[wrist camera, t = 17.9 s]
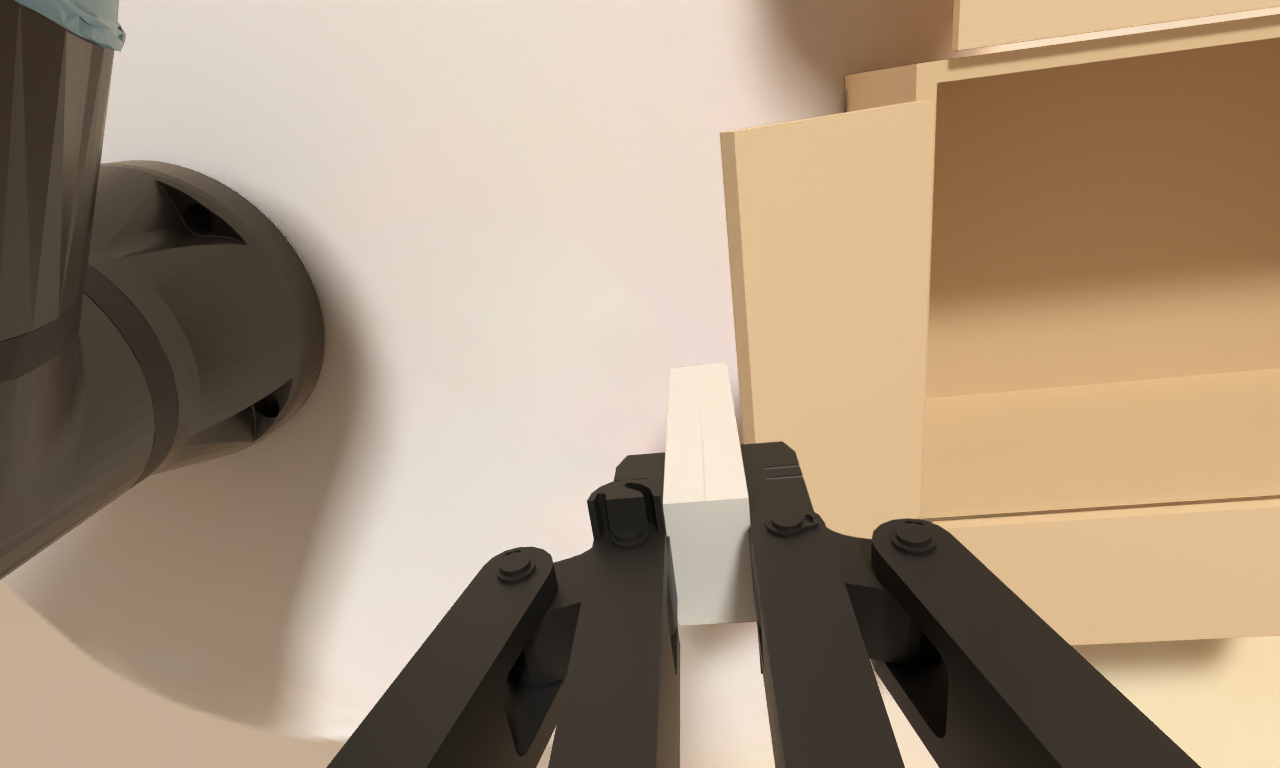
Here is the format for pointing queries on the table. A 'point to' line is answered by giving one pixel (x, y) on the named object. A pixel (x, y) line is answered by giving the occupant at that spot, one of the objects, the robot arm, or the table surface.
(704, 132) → the table surface
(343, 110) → the table surface
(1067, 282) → the carton
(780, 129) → the flap
